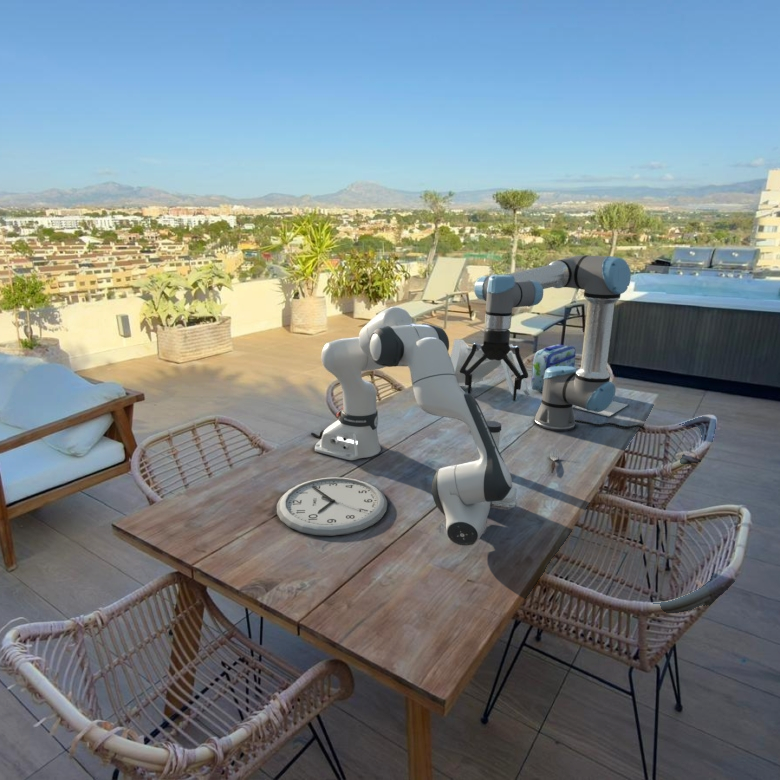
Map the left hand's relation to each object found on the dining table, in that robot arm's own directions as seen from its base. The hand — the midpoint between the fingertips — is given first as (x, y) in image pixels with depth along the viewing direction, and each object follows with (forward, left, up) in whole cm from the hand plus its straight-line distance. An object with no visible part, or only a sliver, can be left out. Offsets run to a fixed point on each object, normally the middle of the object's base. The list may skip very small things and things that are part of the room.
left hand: (481, 478), depth 146 cm
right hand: (-1, +21, +17) cm, 27 cm away
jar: (0, +20, -6) cm, 21 cm away
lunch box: (+17, +118, -6) cm, 119 cm away
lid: (0, +20, +9) cm, 22 cm away
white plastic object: (-15, +100, -6) cm, 102 cm away
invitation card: (+38, +98, -6) cm, 106 cm away
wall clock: (-38, -17, -6) cm, 42 cm away
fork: (+19, +31, -6) cm, 37 cm away
